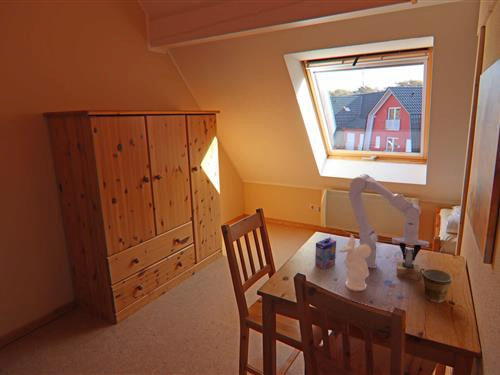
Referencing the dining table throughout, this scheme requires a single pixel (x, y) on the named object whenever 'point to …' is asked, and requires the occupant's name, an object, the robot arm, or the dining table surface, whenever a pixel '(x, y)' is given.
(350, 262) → the cherub figurine
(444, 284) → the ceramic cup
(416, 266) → the socket block
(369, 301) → the dining table surface
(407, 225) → the robot arm
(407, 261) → the dowel
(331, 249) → the ink cartridge box
